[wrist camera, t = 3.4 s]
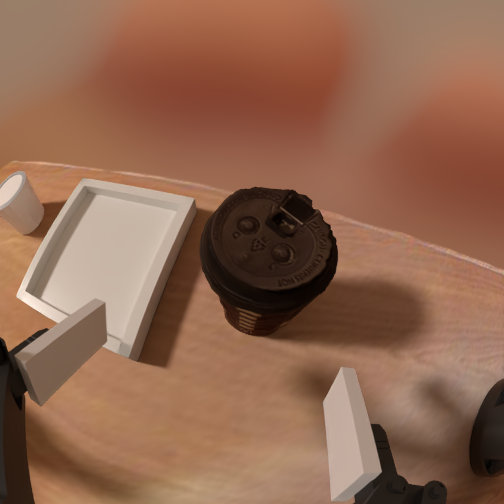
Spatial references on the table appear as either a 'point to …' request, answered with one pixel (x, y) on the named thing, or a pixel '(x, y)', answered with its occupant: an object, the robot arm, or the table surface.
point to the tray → (110, 258)
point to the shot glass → (20, 203)
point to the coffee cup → (267, 257)
